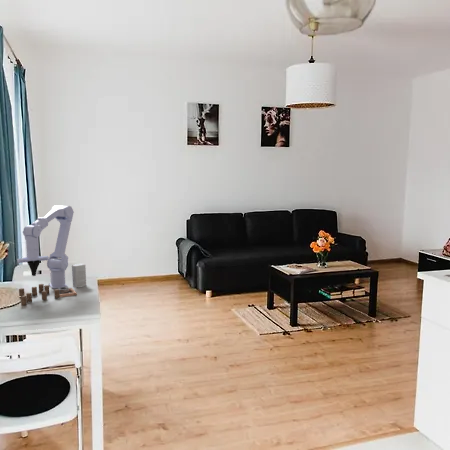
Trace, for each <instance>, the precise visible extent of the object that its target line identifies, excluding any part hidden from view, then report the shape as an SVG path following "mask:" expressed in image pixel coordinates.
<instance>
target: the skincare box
mask: <svg viewBox="0 0 450 450" xmlns="http://www.w3.org/2000/svg"><path fill="white" fill-rule="evenodd" d="M86 269H87V267H86V264H84V263H82V262H81V263H76V264H72V265H71V273H72V274H71V275H72V276H71V278H72V286H73V287H74V288H75V289H77V287H78V288H81V286H82V287H86V286H87V273H86Z"/></svg>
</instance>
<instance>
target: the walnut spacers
mask: <svg viewBox="0 0 450 450" xmlns="http://www.w3.org/2000/svg"><path fill="white" fill-rule="evenodd" d="M38 293H39V294H40V293H41V300H42V301H47V300H48V295H49V294H50V285H49V284H46V285H44V283H40V284H38V287H37V286H32V287H31V292H27V293H26V294H25V288H23V287H20V288H19V289H18V297H19V296H21V297H20V305H21V306H26V305H27V304H28V303H32V301H33V296H37V295H38ZM53 293H54V299H59V298H61V297H60V294H59V289H57V288H54V290H53Z"/></svg>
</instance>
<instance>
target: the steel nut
mask: <svg viewBox="0 0 450 450" xmlns="http://www.w3.org/2000/svg"><path fill="white" fill-rule="evenodd" d="M69 288H70V287H60V288H56V289H59V294H66V293H70V291H69Z"/></svg>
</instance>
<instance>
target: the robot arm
mask: <svg viewBox="0 0 450 450" xmlns="http://www.w3.org/2000/svg"><path fill="white" fill-rule="evenodd" d="M74 213H75V212H74V209H73V207H72V206H71V205H58V204H55V205H53V206H52V207H51V208H50V211H49V212H48V213H46V214H45V215H44V216H41V217H40V216H38V217H37V219H36V220H35V221H33V222H31V224H30V225H29V224H28V225H26V226H24V228H23V231H22V234H23V236H24V239H25V245H26V257H21V258H17V260H16V262H17V264H20V263H21V264H22V263H27V265H28V266H29V267H28V268H29V269H30V271H31V272H30V273H31V276H32V277H37V276H36V275H37V270H38V267H39V265H40V263H41V261H42V262H43V261H46V266H47V268H48V269H49V271H50V283H48V285H49V287H50V288H51V289H54V290H55V289H57V288H60V287H68V284H66V270H67V269H68V267H69V256H67V254H66V249H67V244H68V239H69V235H70V231H71V230H70V229H71V225H72V221H73V217H74ZM54 219H55V220H56V221H57V222H59V223H60V224H59V225H60V226H59V228H58V229H59V230H58V235H57V237H56V243H55V247H54V251H53V252H51V254H49V256H48V255H41V256H40V245H39V243H40V242H39V237H40V236H41V233H42V232H43V231H44V229H46V228H47V227H48V225H49V223H50V222H51V221H53V220H54ZM68 288H69V287H68Z"/></svg>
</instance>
